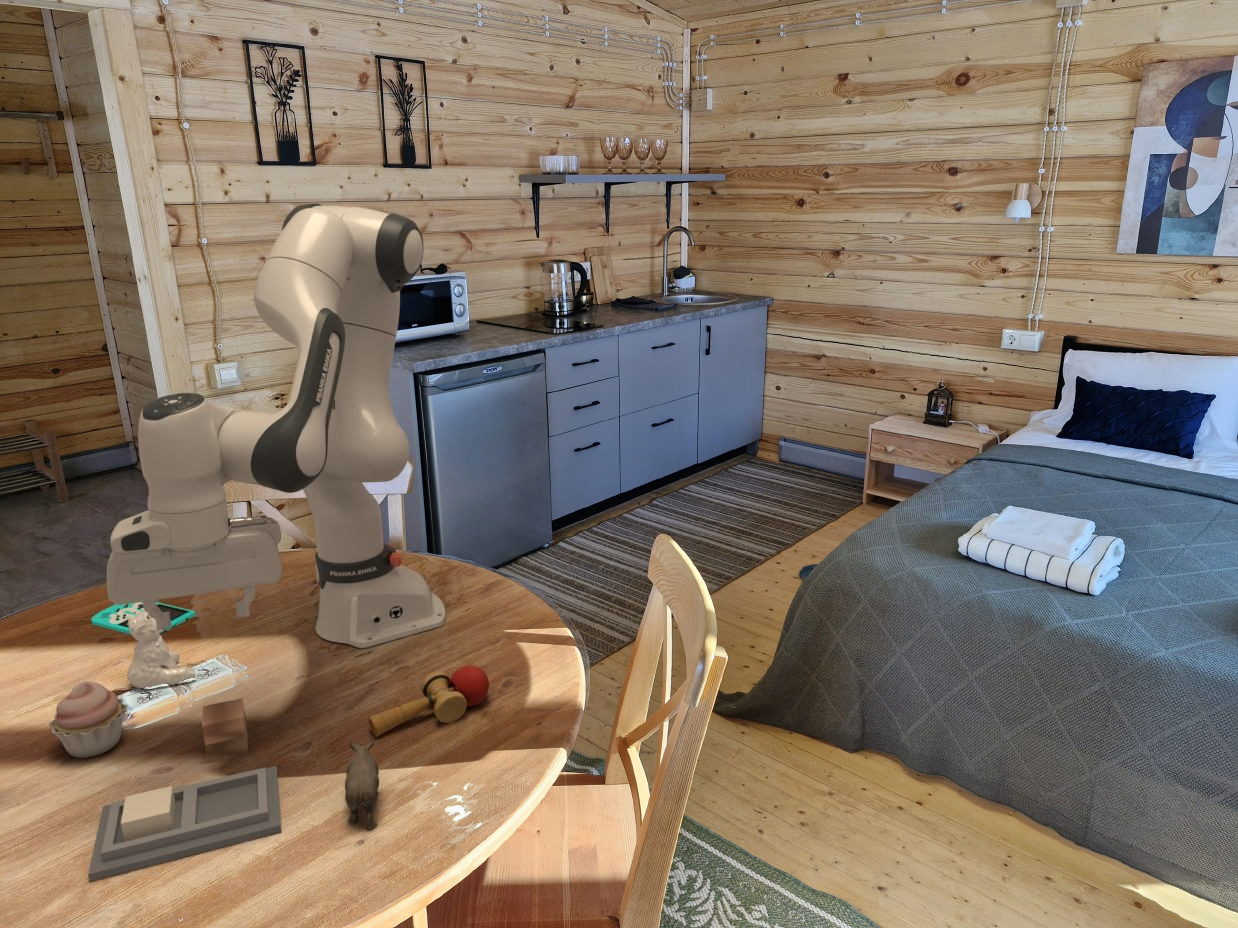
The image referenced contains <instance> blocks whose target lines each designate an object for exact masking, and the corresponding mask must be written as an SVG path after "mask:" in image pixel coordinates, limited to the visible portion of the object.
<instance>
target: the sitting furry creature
mask: <svg viewBox="0 0 1238 928" xmlns="http://www.w3.org/2000/svg"><path fill="white" fill-rule="evenodd" d="M127 625H128V626H129V631H130V633H131V634H130V635H131V636H132V637H133V638H134V639H135V640H136V641H137V642H136V645H134V646H135V647H134V648H133V651H134V653H133V656H132V659H131V663H130V665H129V667H128V671H127V673H126V674H127V677H126V678H127V680H128V681H129V684H130V685H132V686H133V687H134V688H137V689H141V688H146V687H152V686H157V685H161V684H169V685H173V686H176V685H175V684H177V683H179V682H180V681H184V680H186V679H190V678H196V672H195V670H196V669H195V668H194V667H191V666H190V667H189V666H186V665H182V666H178V665H177V663H179V661H180V654H179V652H178V651H175V650H172V651H171V650H170V651H169V646H168V645H167V644H166V643H165V641H164V639H163V637H162V634H159V633H161V632H162V631H163V630H157V625H156V619H154V618H152V617H151V616H150V615H149V614H148V613H147V612H145V611H142V612H139V613H138V614H136V616H129V618H128V624H127Z"/></svg>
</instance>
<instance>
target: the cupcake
mask: <svg viewBox="0 0 1238 928" xmlns="http://www.w3.org/2000/svg"><path fill="white" fill-rule="evenodd" d="M71 689H72V690H71V691H70V692H69V694H68V695H67V696H65V697H63V698H62V699H61V700H60V701H58V703H57V705H56V707H55V708H56V709H55V712H56V713H54V719H53V720H51V721H50V722H48V723H47V725H48V727H49V728H50V729H51V732H52V734H53V735H55V736H56V737H57V738H58V739H59V740H60V741H61V743H62V745H63V747H64V748H65V750H66V753H68V754H69V755H70V756H72V757H74V758H78V759H79V758H80V759H81V758H82V759H86V758H91V757H96V756H99V755H102V754H104V753H106V752H108V751H110V750H111V749H113V748H114V747H115V746H116V745H117V744H118V743H119V742H120V739H121V736H122V726H123V720H124V719H123V718H124V717H125V714H126V713H127V710H128V708H129V706H128V704H124V698H118V697H117V695H116V694H115V692H113V691H111V690H109V689H108V688H107V687H105V685H103V684H101V683H98V682H95V681H92V680H91V681H90V680H88V681H87V680H86V681H83V682H80V683H78V684H76V685H75V686H74V687H72V688H71Z"/></svg>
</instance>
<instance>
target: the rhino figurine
mask: <svg viewBox="0 0 1238 928" xmlns="http://www.w3.org/2000/svg"><path fill="white" fill-rule="evenodd" d="M374 745H375V740H374V739H371V740H370V741H369V742H368V743H367V744H366V745H363V744H362V743H359V745H357V744H356V743H355V742H354V741H350V744H349V747H350V748H351V750H354V755H353V757H352V758H351V760H350V761H349V763H348V765H347V767H346V771H345V773H346V778H345V781H344V791H345V793H344V794H345V796H344V797H345V799H344V800H345V803H346V805H347V808H348V809H349V811H350V816H349V817H348V819H347V822H348V824H350V825H352V826H355V825H357V824H358V823H359V822H360V815H359V812H360V806H361V805H363V808H364V812H365V830H367V831H372V830H374V829H376V828H377V827H378V822H377V821H376V820H374V817H375V808H376V805H377V802H378V797H379V795H380V793H379V791H378V789H379V787H380V778H379V772H380V771H379V765H378V764H377V761H376V760H375V759H374V758H373V757H372V756H371V754H370V749H372V748H373V746H374Z"/></svg>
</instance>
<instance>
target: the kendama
mask: <svg viewBox="0 0 1238 928" xmlns="http://www.w3.org/2000/svg"><path fill="white" fill-rule="evenodd" d="M489 681H490V680H489V677H488V675H487V673H486V672H485V671H484V670H483V669H482V668H481V667H480V666H477V665H463V666H461V667H459V668H457V669H456V670H455V671H454V672H453V673H452V674H451V677H449V676H448V674H446V672H443V671H434V672H431V673H430V674H428V675H427V676H425V677H424V679H423V680H422V681H421V685H420V690H421V693H422V695H423V696H424V697H422V698H419V699H415V700H411V701H408V702H405V703H404V704H401V705H398V706H395V707H393V708H390V709H387V710H385V711H383V712H379V713H376V714H373V715H370V716H368V723H369V726H370V729H371V732H372V734H373V735H374V736H375V737H376V738H377V737H379V736H381V735H382V734H384V733H386V732H388V731H390V730H392V729H393V728H395V727H398V726H399V725H401V724H403V723H405V722H407V721H409V720H411V719H413V718H414V717H416V716H418V715H420V714H421V713H423V712H424V711H427V709H430V708H431V707H433V706H434V707H433V714H434V716H435V717H436V718H437V720H438V721H439V722H441V723H443V724H444V723H445V724H448V723H451V722H454V721H457V720H458V719H460V718H461V717H462V716H463V715H464V713H465V712H466V710H467V707H474V706H476V705H478V704H480V703H481V702H483V701H484V700H485V698H486V697H487V695H488V693H489V691H490V690H489V689H490V682H489Z"/></svg>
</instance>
